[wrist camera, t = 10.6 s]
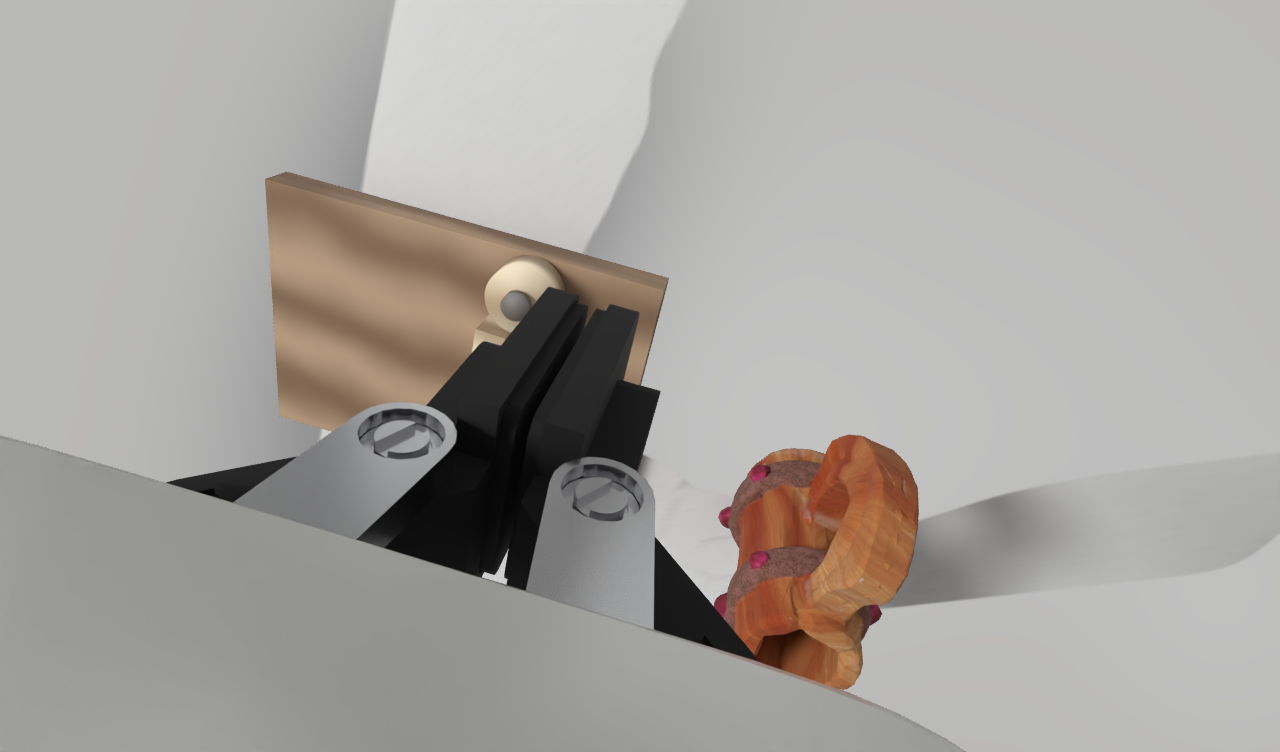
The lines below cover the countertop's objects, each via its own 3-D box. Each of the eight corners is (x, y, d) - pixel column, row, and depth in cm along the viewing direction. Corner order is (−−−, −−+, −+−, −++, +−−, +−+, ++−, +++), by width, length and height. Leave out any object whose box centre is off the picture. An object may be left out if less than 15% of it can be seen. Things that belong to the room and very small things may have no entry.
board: (286, 171, 41) (265, 179, 39) (668, 278, 40) (664, 290, 38) (297, 401, 49) (279, 416, 48) (612, 493, 48) (606, 512, 47)
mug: (809, 556, 48) (823, 760, 35) (706, 510, 48) (681, 698, 35) (932, 400, 41) (1007, 584, 28) (811, 343, 40) (830, 504, 27)
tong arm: (500, 244, 38) (486, 257, 36) (571, 267, 38) (560, 280, 36) (463, 475, 47) (449, 495, 45) (520, 494, 47) (509, 514, 45)
